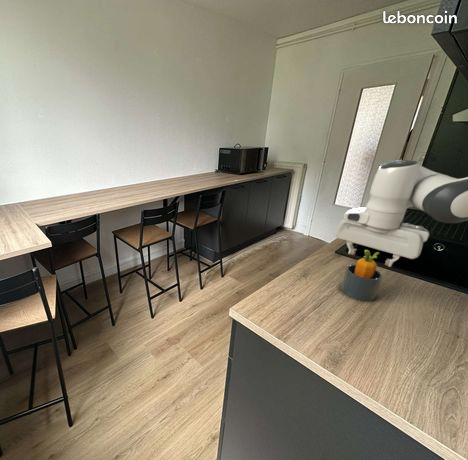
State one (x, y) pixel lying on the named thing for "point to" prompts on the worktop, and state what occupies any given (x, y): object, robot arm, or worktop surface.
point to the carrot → (366, 265)
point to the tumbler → (360, 285)
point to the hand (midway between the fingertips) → (369, 259)
